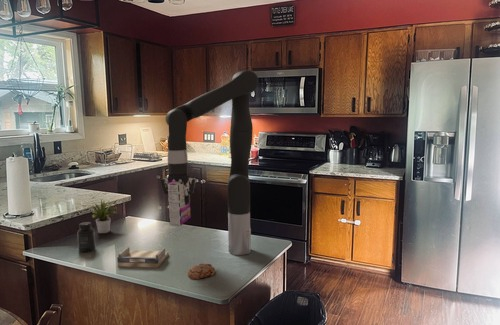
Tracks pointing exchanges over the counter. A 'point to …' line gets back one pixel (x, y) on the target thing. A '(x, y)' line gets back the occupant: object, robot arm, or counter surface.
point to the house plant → (103, 217)
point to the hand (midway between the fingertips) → (179, 204)
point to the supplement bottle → (86, 237)
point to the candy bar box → (178, 203)
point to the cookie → (201, 271)
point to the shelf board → (141, 258)
